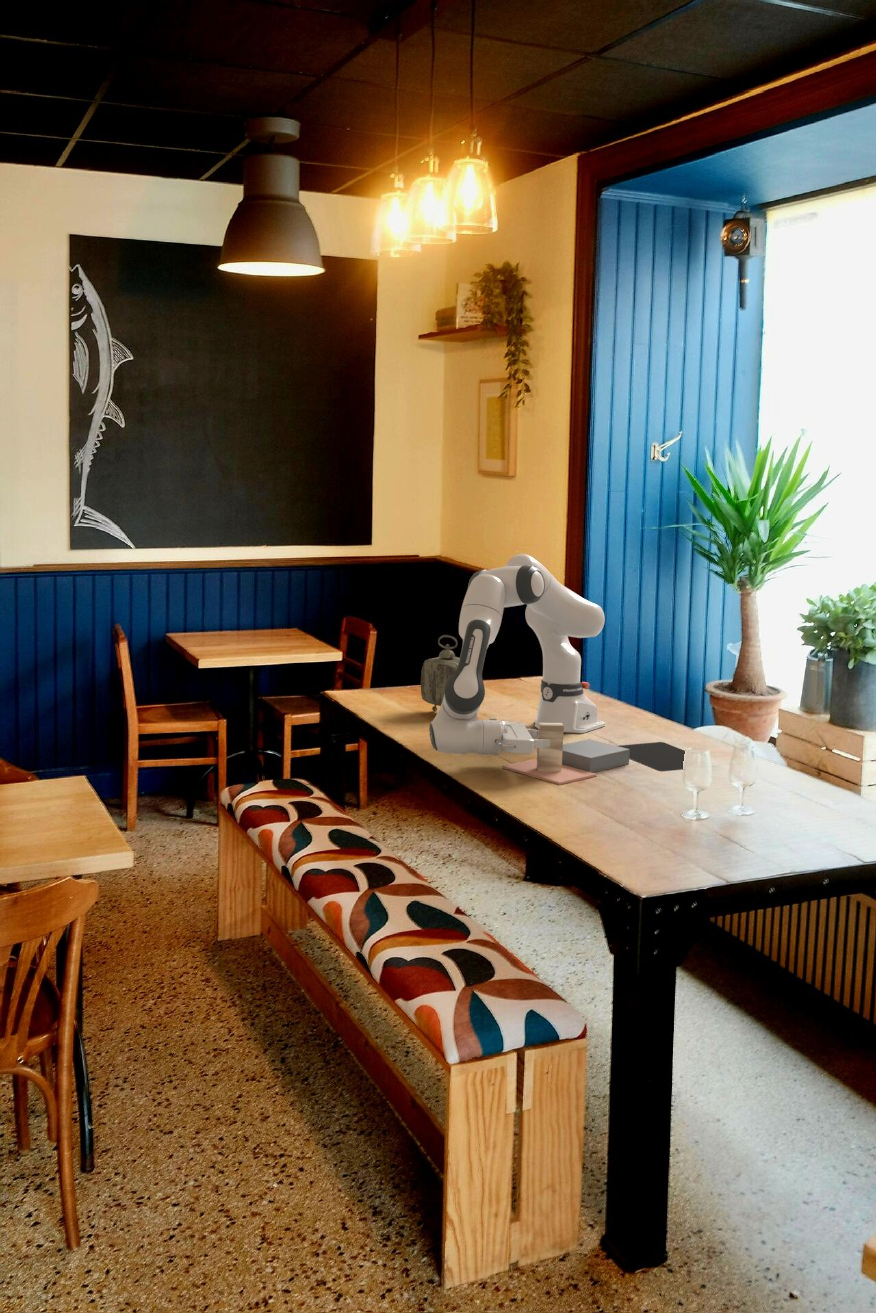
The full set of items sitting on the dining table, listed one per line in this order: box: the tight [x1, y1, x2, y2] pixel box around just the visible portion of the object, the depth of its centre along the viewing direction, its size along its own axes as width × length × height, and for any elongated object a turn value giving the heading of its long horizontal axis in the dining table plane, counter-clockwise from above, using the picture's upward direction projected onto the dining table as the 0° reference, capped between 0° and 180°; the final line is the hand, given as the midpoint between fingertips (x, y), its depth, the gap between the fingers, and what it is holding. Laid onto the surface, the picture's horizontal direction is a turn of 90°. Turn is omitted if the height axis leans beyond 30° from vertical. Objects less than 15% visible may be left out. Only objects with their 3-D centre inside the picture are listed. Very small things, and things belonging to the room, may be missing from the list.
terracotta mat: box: [501, 757, 598, 786], centre depth 316 cm, size 14×20×1 cm
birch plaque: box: [536, 723, 565, 771], centre depth 314 cm, size 3×6×12 cm, turn 94°
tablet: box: [618, 741, 686, 772], centre depth 336 cm, size 27×1×20 cm
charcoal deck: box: [562, 738, 630, 773], centre depth 326 cm, size 16×14×4 cm
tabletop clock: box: [420, 634, 460, 712], centre depth 376 cm, size 14×9×25 cm, turn 58°
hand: (546, 738), depth 314 cm, fingers open, 8 cm apart
